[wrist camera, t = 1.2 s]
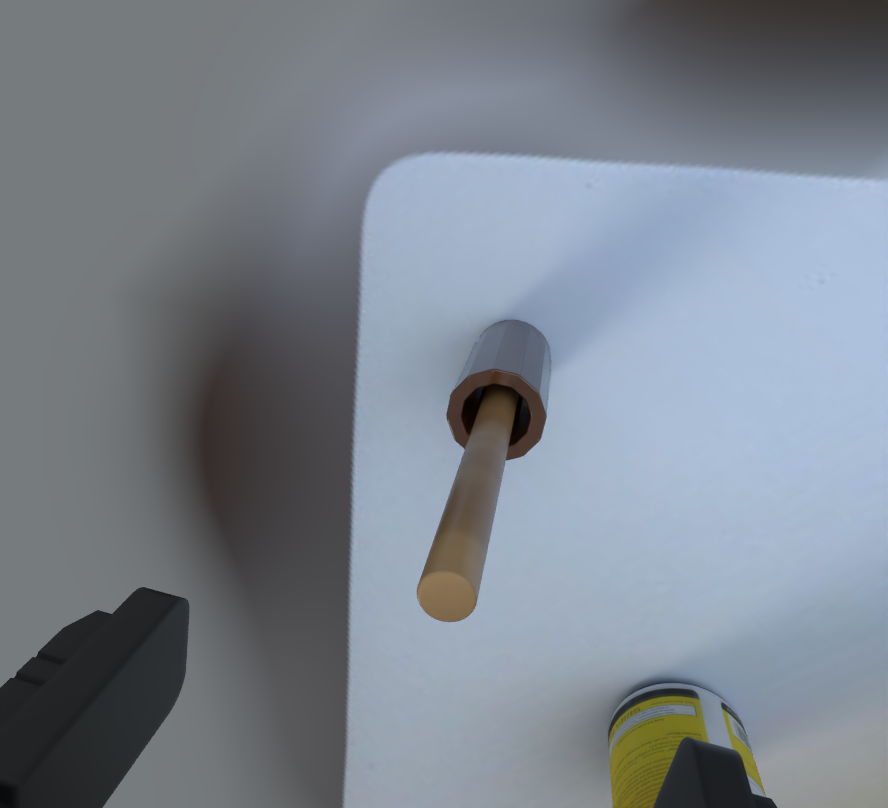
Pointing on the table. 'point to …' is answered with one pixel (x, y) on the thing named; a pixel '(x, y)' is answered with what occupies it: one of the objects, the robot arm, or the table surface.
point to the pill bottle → (668, 738)
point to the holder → (505, 382)
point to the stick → (469, 513)
